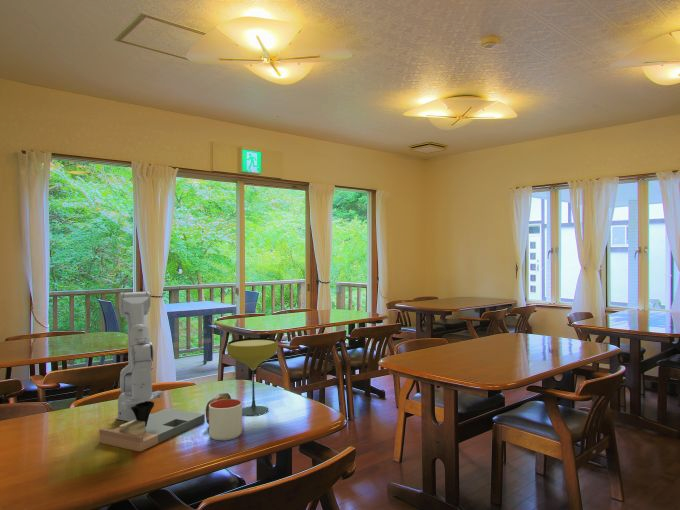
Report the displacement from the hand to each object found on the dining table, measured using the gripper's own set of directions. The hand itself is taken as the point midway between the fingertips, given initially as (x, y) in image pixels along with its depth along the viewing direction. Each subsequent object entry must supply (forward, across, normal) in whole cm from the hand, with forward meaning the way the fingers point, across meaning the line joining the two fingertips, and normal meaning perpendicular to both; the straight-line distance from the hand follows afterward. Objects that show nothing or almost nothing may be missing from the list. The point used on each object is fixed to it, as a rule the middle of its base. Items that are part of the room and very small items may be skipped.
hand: (142, 426), depth 146 cm
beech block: (+1, -4, 0) cm, 4 cm away
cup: (+3, +11, -24) cm, 26 cm away
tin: (+3, +21, -12) cm, 25 cm away
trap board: (+3, +5, 0) cm, 6 cm away
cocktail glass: (+3, +34, -18) cm, 38 cm away
